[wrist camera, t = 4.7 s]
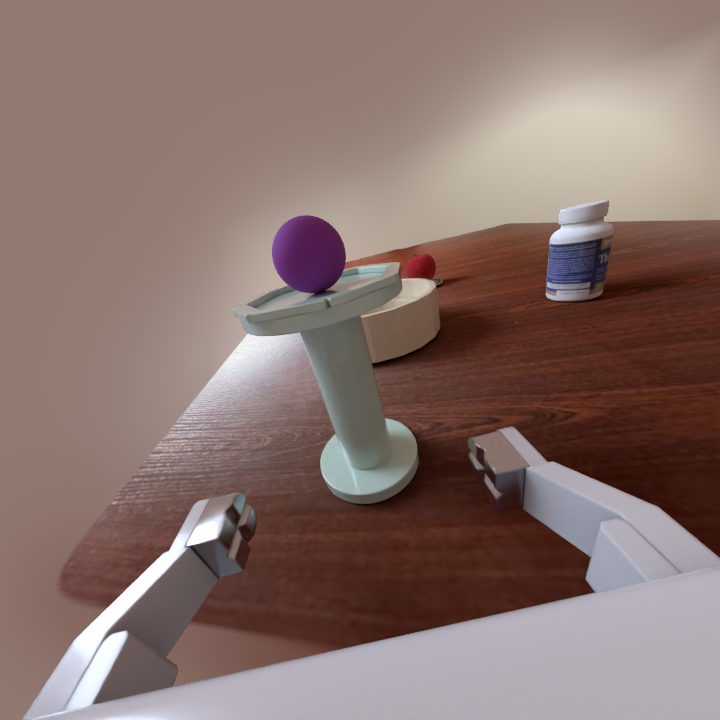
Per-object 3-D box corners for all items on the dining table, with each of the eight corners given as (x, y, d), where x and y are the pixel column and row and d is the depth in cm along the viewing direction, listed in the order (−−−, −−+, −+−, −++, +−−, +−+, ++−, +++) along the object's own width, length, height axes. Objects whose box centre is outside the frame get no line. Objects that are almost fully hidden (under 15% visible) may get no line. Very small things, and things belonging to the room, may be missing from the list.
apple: (396, 294, 53) (390, 260, 50) (412, 283, 58) (407, 252, 55) (435, 290, 48) (431, 253, 45) (448, 279, 54) (445, 245, 51)
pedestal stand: (296, 514, 14) (195, 326, 9) (331, 423, 20) (281, 283, 16) (434, 518, 12) (394, 286, 8) (426, 417, 18) (401, 256, 14)
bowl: (297, 376, 29) (279, 331, 27) (334, 325, 43) (324, 293, 41) (448, 358, 25) (442, 303, 23) (434, 308, 39) (430, 271, 37)
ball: (277, 309, 11) (244, 231, 9) (301, 285, 13) (278, 220, 12) (346, 297, 10) (323, 210, 8) (357, 275, 13) (341, 204, 11)
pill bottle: (606, 301, 28) (624, 198, 24) (545, 304, 31) (552, 213, 27) (599, 287, 32) (614, 196, 28) (545, 291, 35) (551, 210, 31)
